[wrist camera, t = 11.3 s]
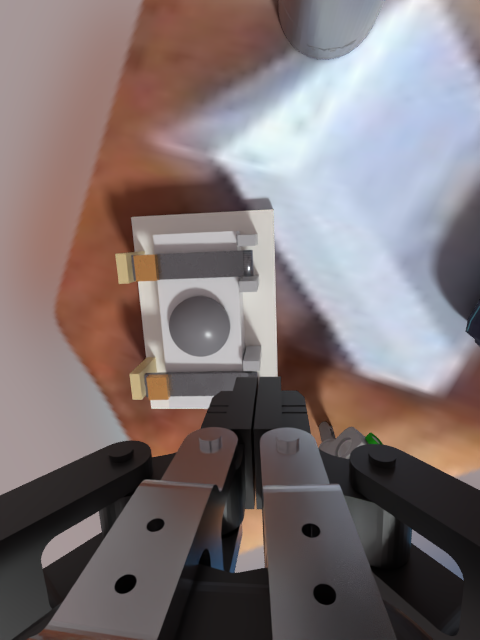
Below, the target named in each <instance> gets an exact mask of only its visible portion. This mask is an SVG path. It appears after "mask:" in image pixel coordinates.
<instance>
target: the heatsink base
mask: <svg viewBox="0 0 480 640" xmlns="http://www.w3.org/2000/svg"><path fill="white" fill-rule="evenodd" d="M131 221H132V230H133V240H134V249H135V252H128V253H120V254H115V255H116V263H117V271H118V280H119V284H122V283H131V282H134V276H133V267H132V258H131V255H146V254H169V253H192V252H215V251H238V250H253V272H254V276H250V277H218V278H192V279H165V280H158V281H138V286H139V296H140V305H141V314H142V324H143V333H144V342H145V352H146V359H145V360H144V361H143V362H142V363H141V364H140V365H138V366H137V367H136V368H135V369H134V370H133V371H132V372H131V373H130V381H131V390H132V398H133V400H142V399H143V398H144V397H145V395H146V388H145V379H144V374H145V373H159V372H213V371H257V377H258V384H259V377H278V370H277V330H276V289H275V248H274V209H270V210H252V211H233V212H214V213H196V214H177V215H158V216H140V217H131ZM213 397H214V396H170V398H169V399H168V400H151V408H152V409H208V408H209V405H210V403H211V400H212V398H213Z"/></svg>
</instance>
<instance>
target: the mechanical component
mask: <svg viewBox="0 0 480 640" xmlns="http://www.w3.org/2000/svg"><path fill="white" fill-rule="evenodd" d="M319 431H320V436H321V440H322V443H321V444H320V446H319V449H320V450H322V451H324V452H326V453H328V454H331V455H333V456H337V457H342V458H346V459H350V453H351V452H352V451H353V450H354V449H355V448H357V447H359V446H361V445H366V444H381V445H383V444H382V442H381V441H380V440H379V439H378V438H377V437H376V436H375V435H374V434H372V433H369V434H368V435H367V436H366V437H365V436H364V435H362V434H361V433H360V432H359V431H358V430H356V429H355V428H354V427H349V428H347V429H346V430H344V431H343V432H342V433H341V434H340V435H339V436H338V437H337V438H335V434H334V431H333V428H332V426H329V424H328V423H327V422H322V423H321V424H320V425H319Z"/></svg>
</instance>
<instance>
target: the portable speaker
mask: <svg viewBox="0 0 480 640" xmlns="http://www.w3.org/2000/svg"><path fill="white" fill-rule="evenodd" d="M466 332H467V333H468V334H469V335H470V336H472V337H473V338H474V339H475V342H476V343H477V344H478V345H479V346H480V300H479V302H478V303H477V305H476V307H475V308H474V310H473V312H472V313H471V315H470V317H469V319H468V322H467V327H466Z"/></svg>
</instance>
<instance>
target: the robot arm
mask: <svg viewBox="0 0 480 640" xmlns="http://www.w3.org/2000/svg"><path fill="white" fill-rule="evenodd" d="M384 2H385V0H279V18H280V23H281V27H282V29H283V32H284V34H285V36H286V38H287V39H288V40H289V42H290V43H291V45H292V46H293V47H294V48H296V49H297V50H298V51H299V52H300V53H302V54H304V55H306V56H308V57H311V58H315V59H321V60H329V59H334V58H339V57H341V56H343V55H345V54H347V53H349V52H351V51H352V50H353V49H355V48H356V47H358V46H359V45H360V43H361V42H362V41H363V40H364V39H365V38H366V37H367V35H368V34H369V32H370V30H371V29H372V27H373V25H374V23H375V21H376V19H377V17H378V15H379V12H380V10H381V8H382V6H383V4H384ZM255 492H256V503H257V509H262V516H263V542H264V559H265V560H264V561H265V568H261V569H257V570H251V571H246V572H240V573H235V568H236V563H237V558H238V553H239V548H240V543H241V539H242V521H243V518H244V511H245V509H254V505H255ZM98 511H99V516H100V521H101V529H102V532H101V533H100V534H98V535H96V536H95V537H93V538H92V539H90V540H88V541H87V542H85V543H84V544H82V545H80V546H79V547H77V548H76V549H74V550H73V551H71V552H69V553H68V554H66V555H65V556H63V557H61V558H60V559H58V560H56V561H55V562H53V563H52V564H50V565H49V566H47V567H45V568H43V569H42V564H41V556H42V552H43V550H44V548H45V546H46V545H47V544H48V543H49V542H50V541H51V539H53V538H54V537H55V536H57V535H58V534H60V533H62V532H64V531H65V530H67V529H69V528H70V527H72V526H74V525H76V524H77V523H79V522H81V521H82V520H84V519H86V518H88V517H89V516H91V515H93V514H95V513H96V512H98ZM412 529H413V530H414V531H416V532H417V533H419V534H420V535H422V536H423V537H425V538H426V539H428V540H429V541H431V542H432V543H433V544H435V545H436V546H438V547H439V548H441V549H442V550H444V551H445V552H446V553H448V554H449V555H450V556H451V557H452V558H453V559H454V560H455V562H456V563H457V564H458V566H459V568H460V570H461V572H462V574H463V578H464V581H463V580H462V579H461V578H459V577H458V576H457V575H455V574H454V573H452V572H451V571H450V570H448V569H447V568H445V567H444V566H443V565H441V564H440V563H438V562H437V561H436V560H434V559H433V558H431V557H430V556H429V555H427V554H426V553H424V552H423V551H421V550H420V549H419V548H417V547H416V546H415V545H413V544H412V543H411V537H412ZM0 640H480V490H478V489H476V488H474V487H472V486H470V485H468V484H466V483H464V482H462V481H460V480H458V479H456V478H454V477H452V476H450V475H448V474H446V473H444V472H443V471H441V470H439V469H437V468H435V467H433V466H431V465H429V464H427V463H425V462H423V461H421V460H419V459H417V458H415V457H413V456H411V455H409V454H407V453H405V452H403V451H401V450H399V449H397V448H394V447H391V446H387V445H381V444H366V445H361V446H359V447H357V448H355V449H354V450H353V451H352V452H351V453H350V459H346V458H342V457H337V456H333V455H331V454H328V453H326V452H324V451H322V450H320V449H319V448H318V447H317V444H316V441H315V439H314V437H313V436H312V435H311V432H310V426H309V420H308V415H307V409H306V403H305V398H304V397H303V396H302V395H301V394H300V393H299V392H298V391H281V377H259V384H258V377H236V381H235V384H234V388H233V391H220V392H219V393H218V394H216V395H215V396H214V397H213V398H212V400H211V403H210V405H209V408H208V410H207V413H206V416H205V418H204V421H203V423H202V426H201V429H199V430H196V431H194V432H192V433H190V434H189V435H188V436H187V437H186V438H185V439H184V441H183V443H182V444H181V446H180V448H179V449H178V451H177V452H176V453H173V454H168V455H163V456H158V457H152V455H151V449H150V447H149V446H148V445H147V444H145V443H143V442H140V441H123V442H118V443H115V444H112V445H109V446H107V447H105V448H103V449H100V450H98V451H96V452H94V453H92V454H89V455H87V456H85V457H83V458H81V459H79V460H76V461H74V462H72V463H70V464H68V465H66V466H63V467H61V468H59V469H57V470H55V471H53V472H50V473H48V474H46V475H44V476H42V477H39V478H37V479H35V480H33V481H31V482H29V483H26V484H24V485H22V486H20V487H18V488H16V489H14V490H11V491H9V492H7V493H5V494H3V495H0Z"/></svg>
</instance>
